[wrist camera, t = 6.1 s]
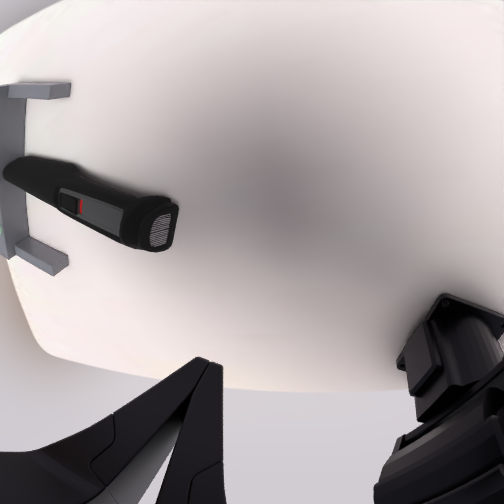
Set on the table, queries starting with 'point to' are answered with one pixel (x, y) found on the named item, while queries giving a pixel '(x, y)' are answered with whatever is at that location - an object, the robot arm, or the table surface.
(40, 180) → the electric trimmer
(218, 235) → the table surface
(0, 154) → the charging dock
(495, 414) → the robot arm
